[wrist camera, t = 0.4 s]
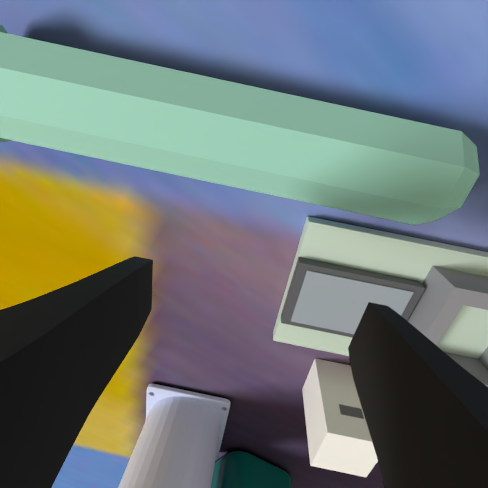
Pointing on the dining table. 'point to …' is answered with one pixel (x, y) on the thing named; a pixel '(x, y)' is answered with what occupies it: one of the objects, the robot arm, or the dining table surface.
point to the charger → (336, 421)
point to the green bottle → (248, 472)
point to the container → (231, 133)
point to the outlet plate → (385, 290)
